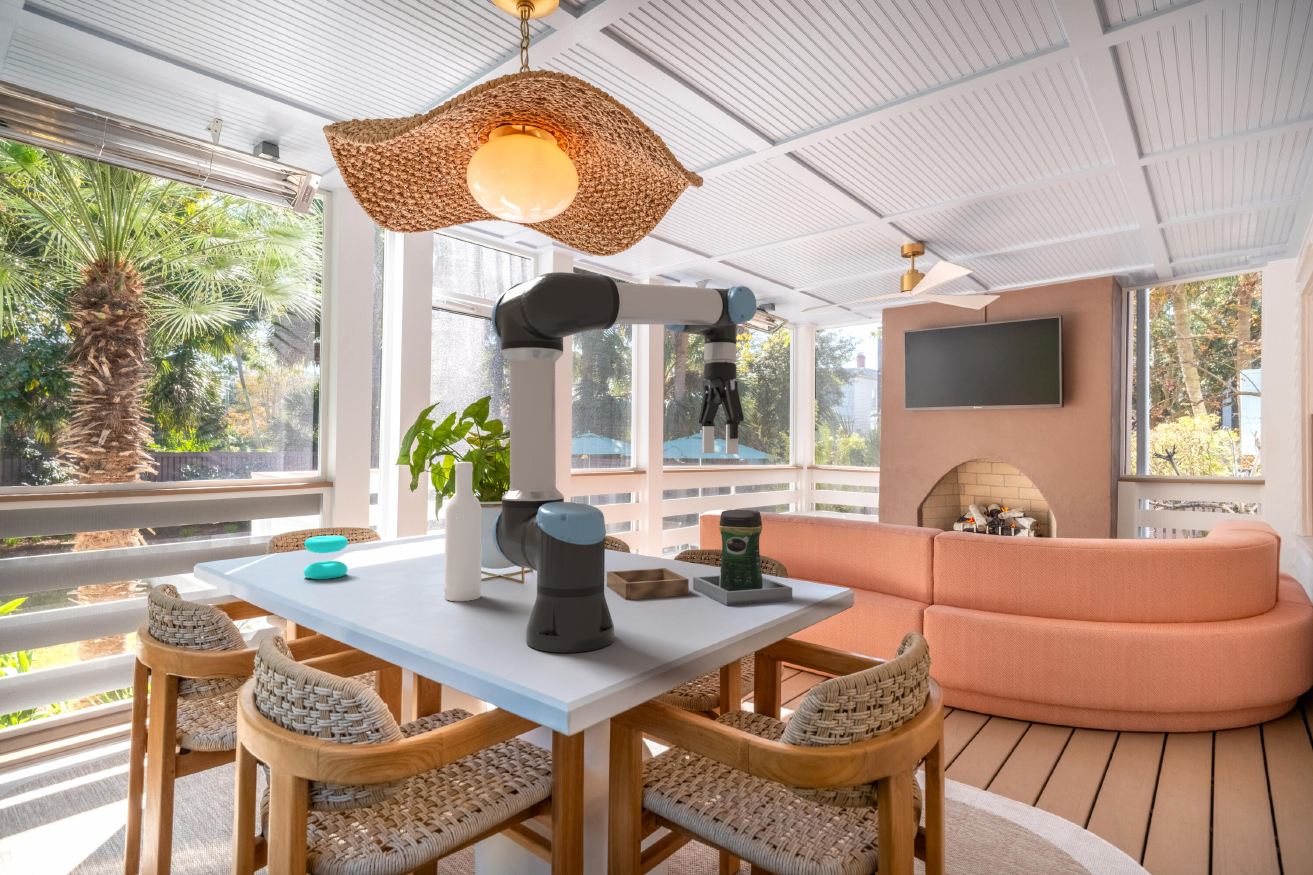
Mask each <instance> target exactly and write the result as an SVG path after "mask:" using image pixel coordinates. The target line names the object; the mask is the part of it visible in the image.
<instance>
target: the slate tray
mask: <svg viewBox="0 0 1313 875" xmlns="http://www.w3.org/2000/svg"><path fill="white" fill-rule="evenodd" d="M719 584H720V574H717V575H703V576H693V577H692V589H693V590H694V591H695V592H696V591H697V592H698V593H700V594H702V595H704V596H706V597H708V598H711V599H712V600H713V601H716V602H718V603H720V604H721V605H722V604H723V605H724V606H726V607H728V606H729V607H730V606H741V605H754V604H763V603H764V604H765V603H774V602H775V603H777V602H788V601H789V602H791V601H793V587H792V586H789V585H786V584H784V583H782V582H778V581H776V580H774V579H770V578H767V577H764V576H762V585H763V587H762V589H753V590H740V591H727V590H725V589H723V588H721V587H719Z"/></svg>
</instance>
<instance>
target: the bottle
mask: <svg viewBox="0 0 1313 875" xmlns="http://www.w3.org/2000/svg"><path fill="white" fill-rule="evenodd" d="M473 465H474V464H473V462H472V461H456V462H455V466H454V471H455V478H454V479H455V484H454V486H455V487H454V489H455V490H454V492H455V493H454V494H453V496H452V497H450V498H449V499H448V501H447V504H446V505H445V506H446V507H445V510H444V516H445V517H444V519H445V520H444V521H445V522H444V523H445V524H444V584H443V592H444V595H443V596H444V599H445V600H446V601H448V600H449V602H468V601H469V602H470V600H471V601H474V600H478V599H480V597H482V587H483V584H482V530H483V529H482V527H483V524H482V522H483V521H482V520H483V516H482V515H483V512H482V510H483V509H482V506H481V502H480V500H479V498H478V497H477V496H475V494H474V493H473V471H474V466H473ZM456 517H457V518H456Z"/></svg>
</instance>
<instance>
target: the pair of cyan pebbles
mask: <svg viewBox="0 0 1313 875" xmlns="http://www.w3.org/2000/svg"><path fill="white" fill-rule="evenodd" d="M348 543H349V541H348V539H347V537H345V536H342V535H319V536H313V537H309V538H307V539H305V541H304V548H305V549H306V550H307V551H308V552H311V553H315V554H329V553H337V552H340V551H342V550H344V549H345V548H346V547H347V546H348ZM347 573H348V566H347V564H345V563H344V562H342V561H337V560H322V561H317V562H313V563H310V564H309V565H307V566H306V567H305V568H304V569H303V574H304V576H305V578H307V579H309V578H312V579H311V580H330V579H329V578H333V579H337V577H338V578H341V577H343V576H345V575H346V574H347Z"/></svg>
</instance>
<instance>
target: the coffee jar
mask: <svg viewBox="0 0 1313 875" xmlns="http://www.w3.org/2000/svg"><path fill="white" fill-rule="evenodd" d="M719 519H720V520H719V526H718V527H719V532H720V535H721V560H720V562H721V563H720V569H719V570H720V572H719V575H720V584H719V587H721V588H723V589H725V590H727V591H740V590H753V589H762V587H763V585H762V577H763V574H762V563H761V554H760V536H761V535H762V531H763V524H762V523H763V522H762V516H761V512H760V511H759V510H753V509H752V510H751V509H739V508H738V509H727V510H722V511H721V513H720V518H719Z"/></svg>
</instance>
